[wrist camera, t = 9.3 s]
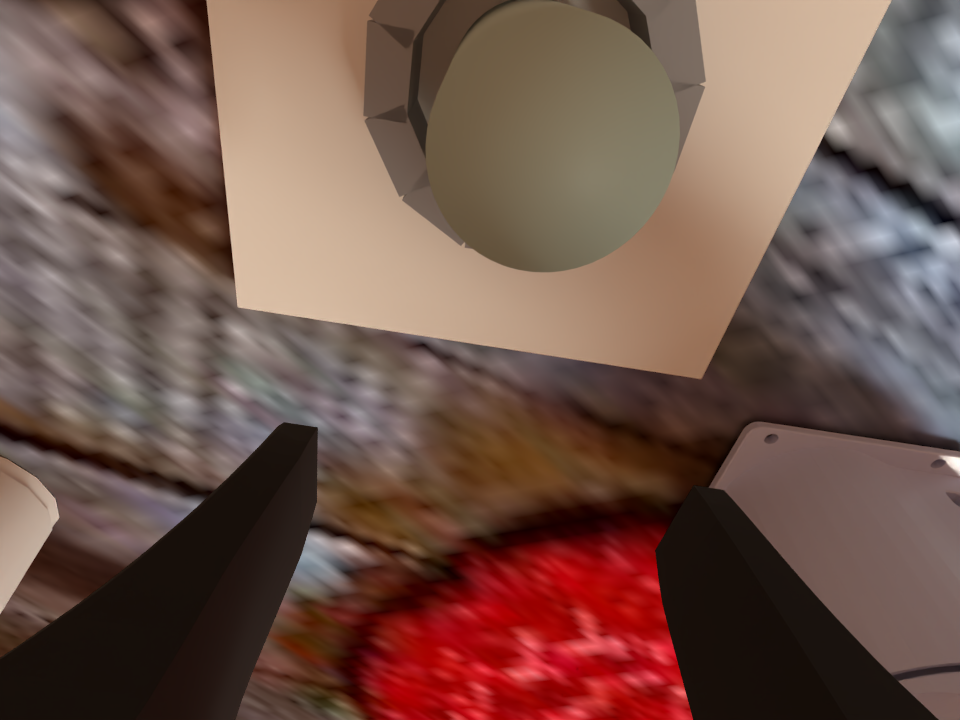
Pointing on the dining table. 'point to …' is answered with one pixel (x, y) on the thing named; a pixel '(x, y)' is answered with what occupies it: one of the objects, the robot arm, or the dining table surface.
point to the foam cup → (21, 524)
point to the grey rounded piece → (551, 136)
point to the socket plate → (459, 292)
